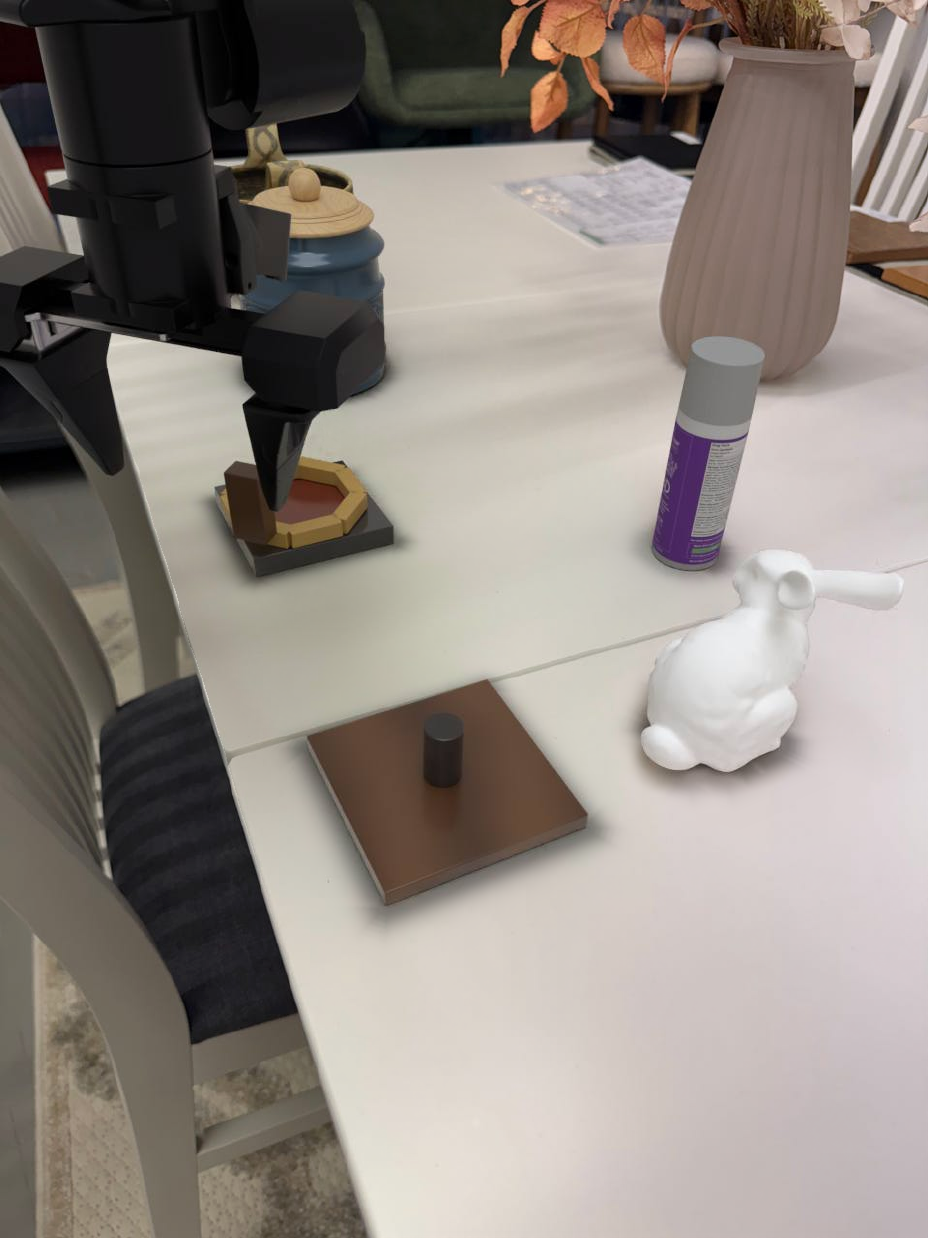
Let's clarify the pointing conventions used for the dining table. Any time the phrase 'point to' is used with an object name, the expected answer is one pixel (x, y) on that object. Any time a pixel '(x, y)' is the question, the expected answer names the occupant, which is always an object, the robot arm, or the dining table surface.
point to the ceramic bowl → (276, 166)
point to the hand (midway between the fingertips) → (195, 489)
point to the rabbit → (747, 662)
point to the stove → (311, 504)
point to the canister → (323, 249)
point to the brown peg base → (442, 788)
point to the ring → (259, 523)
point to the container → (706, 450)
